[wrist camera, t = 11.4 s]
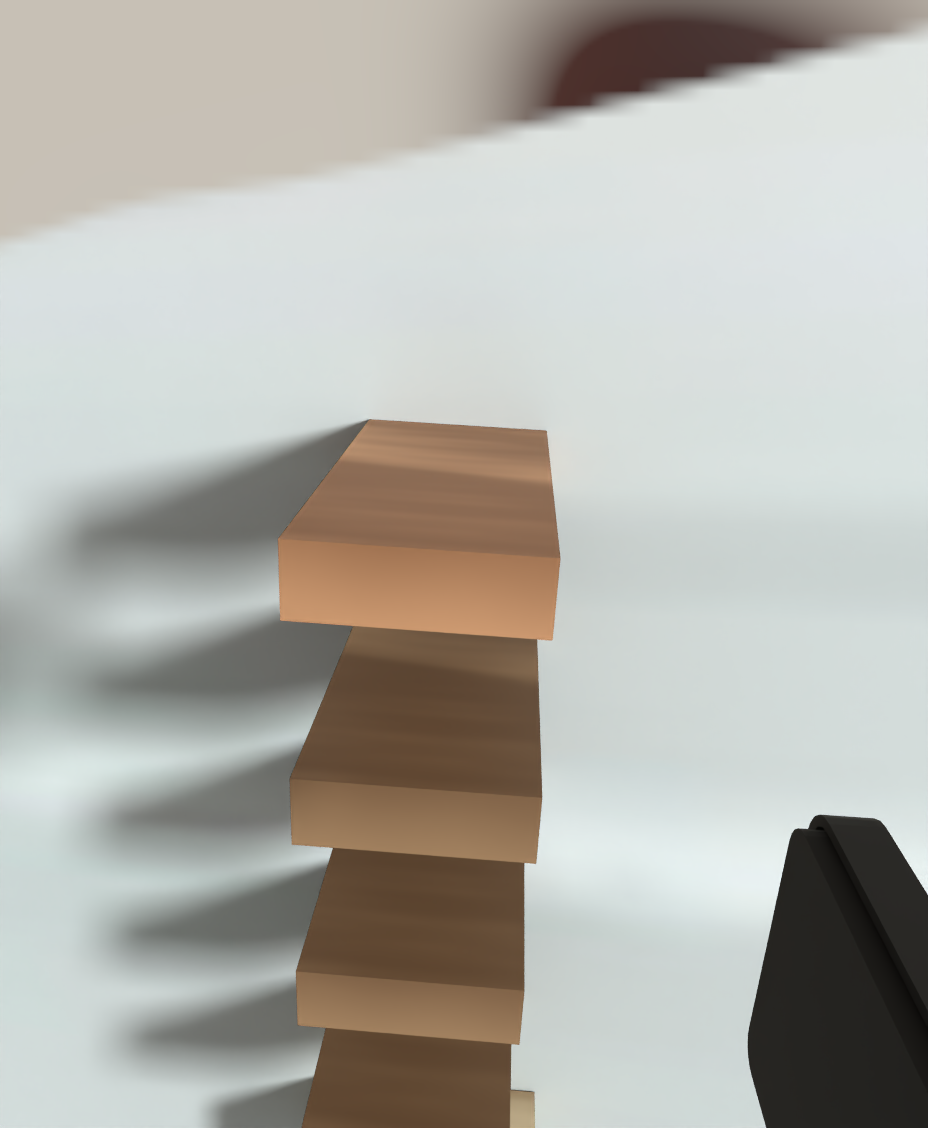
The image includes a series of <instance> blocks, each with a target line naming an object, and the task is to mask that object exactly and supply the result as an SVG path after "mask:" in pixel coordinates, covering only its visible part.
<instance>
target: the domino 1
mask: <svg viewBox="0 0 928 1128" xmlns="http://www.w3.org/2000/svg"><path fill="white" fill-rule="evenodd" d="M278 557H279V593H280V621H293V622H307V623H321V624H334V625H348V626H362V627H375V628H389V629H403V630H416V631H430V632H444V633H457V634H471V635H485V636H498V637H512V638H526V639H539V640H552V639H553V629H554V619H555V608H556V598H557V588H558V577H559V567H560V551H559V541H558V532H557V523H556V513H555V504H554V495H553V486H552V476H551V467H550V458H549V449H548V439H547V431H543V430H528V429H512V428H496V427H481V426H465V425H449V424H434V423H418V422H402V421H387V420H371V419H369V420H368V422H367V423H366V424H365V426H364V427H363V428H362V430H361V431H360V432H359V434H358V435H357V436H356V437H355V439H354V440H353V441H352V443H351V444H350V445H349V447H348V448H347V449H346V451H345V452H344V453H343V454H342V456H341V457H340V458H339V460H338V461H337V462H336V464H335V465H334V466H333V468H332V469H331V470H330V471H329V473H328V474H327V475H326V477H325V478H324V479H323V481H322V482H321V483H320V485H319V486H318V487H317V488H316V490H315V491H314V492H313V494H312V495H311V496H310V498H309V499H308V500H307V502H306V503H305V504H304V505H303V507H302V508H301V509H300V511H299V512H298V513H297V515H296V516H295V517H294V519H293V520H292V521H291V522H290V524H289V525H288V526H287V528H286V529H285V530H284V532H283V533H282V534H281V536H280V537H279V538H278Z"/></svg>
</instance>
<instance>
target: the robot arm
mask: <svg viewBox="0 0 928 1128" xmlns="http://www.w3.org/2000/svg"><path fill="white" fill-rule="evenodd" d="M748 1058H749V1065H750V1070H751V1075H752V1078H753V1082H754V1085H755V1089H756V1093H757V1096H758V1100H759V1103H760V1107H761V1110H762V1114H763V1118H764V1121H765V1125H766V1128H928V895H927V893H926V891H925V890H924V888H923V887H922V885H921V883H920V882H919V880H918V879H917V877H916V875H915V874H914V872H913V870H912V869H911V867H910V866H909V864H908V862H907V861H906V859H905V857H904V856H903V854H902V853H901V851H900V849H899V848H898V846H897V845H896V843H895V841H894V840H893V838H892V836H891V835H890V833H889V832H888V830H887V828H886V827H885V826H884V825H883V823H882V822H881V821H879V820H877V819H873V818H859V817H845V816H831V815H817V816H815V817H814V818H813V820H812V821H811V823H810V825H809V828H808V829H799V828H798V829H795V830H794V831H793V833H792V835H791V838H790V841H789V845H788V850H787V855H786V859H785V864H784V869H783V873H782V878H781V882H780V887H779V892H778V896H777V901H776V906H775V910H774V915H773V920H772V924H771V929H770V933H769V938H768V943H767V947H766V952H765V957H764V961H763V966H762V970H761V975H760V980H759V984H758V989H757V994H756V998H755V1003H754V1008H753V1012H752V1017H751V1021H750V1026H749V1032H748Z"/></svg>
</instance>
